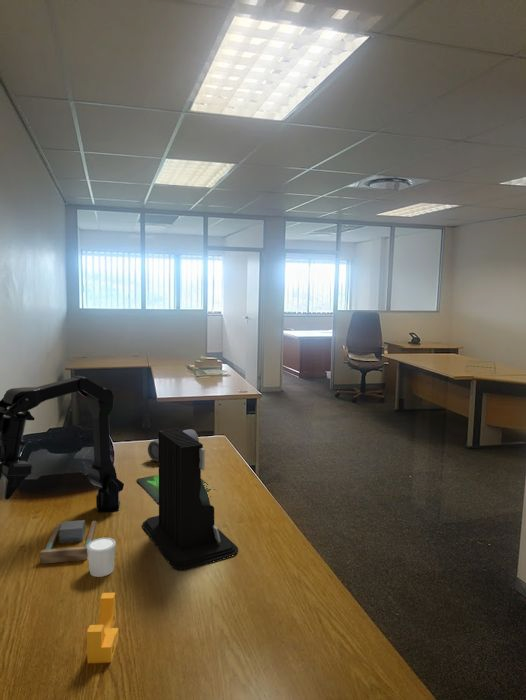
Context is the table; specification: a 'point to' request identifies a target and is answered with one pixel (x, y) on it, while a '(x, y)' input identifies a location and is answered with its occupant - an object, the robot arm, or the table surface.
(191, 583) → the table surface
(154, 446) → the bluetooth speaker
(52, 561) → the brown u-shaped frame
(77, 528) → the block
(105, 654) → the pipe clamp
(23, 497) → the table surface
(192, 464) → the award
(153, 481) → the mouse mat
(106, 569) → the white cylinder
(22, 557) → the table surface
